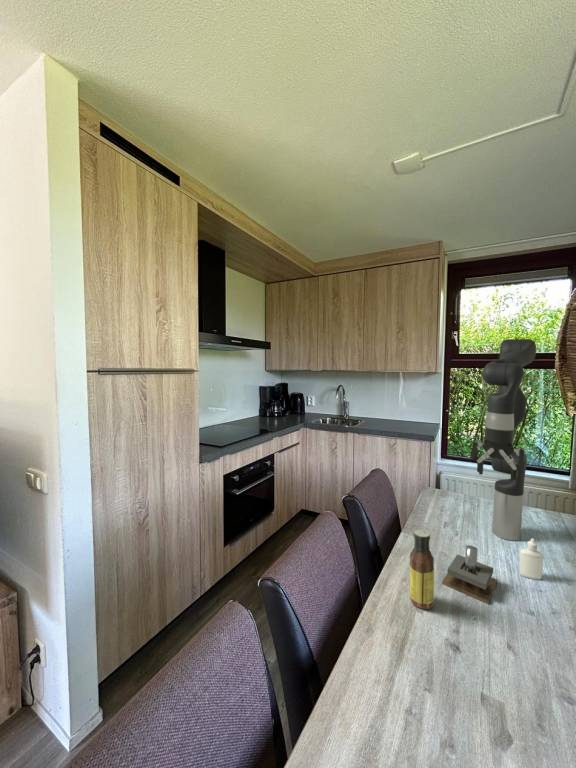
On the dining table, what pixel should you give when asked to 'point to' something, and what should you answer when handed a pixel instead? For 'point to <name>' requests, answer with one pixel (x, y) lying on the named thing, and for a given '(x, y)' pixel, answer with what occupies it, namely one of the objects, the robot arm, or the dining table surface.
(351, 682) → the dining table surface
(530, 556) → the eye dropper bottle
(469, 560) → the bronze plate with post
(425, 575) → the sauce bottle
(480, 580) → the collar
